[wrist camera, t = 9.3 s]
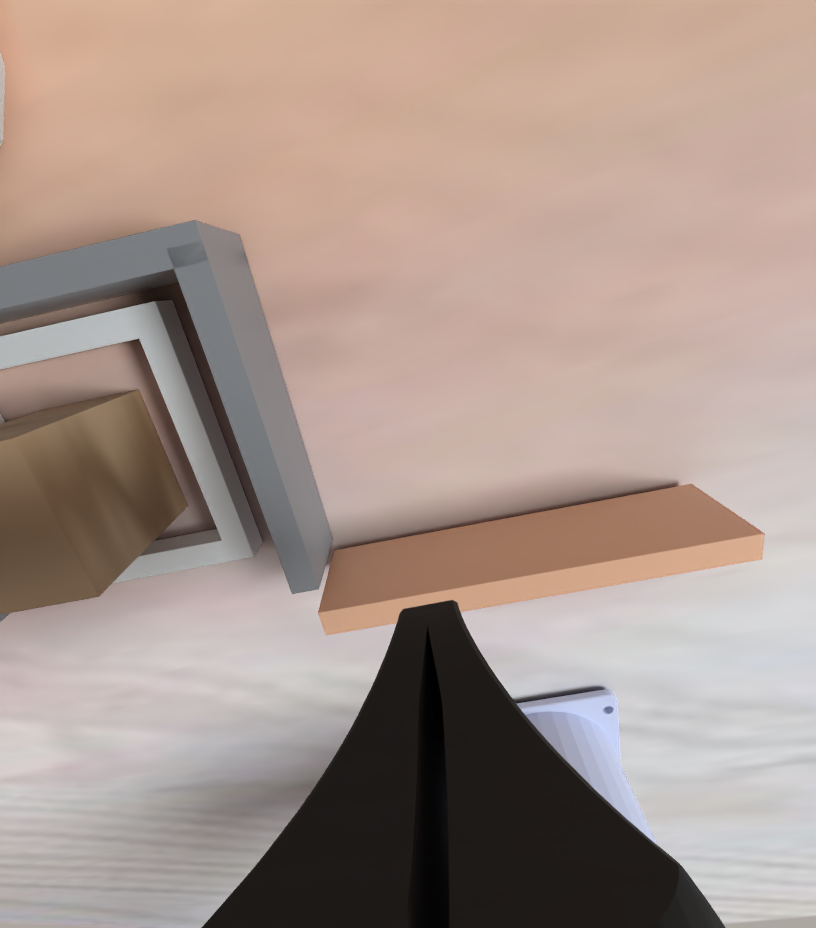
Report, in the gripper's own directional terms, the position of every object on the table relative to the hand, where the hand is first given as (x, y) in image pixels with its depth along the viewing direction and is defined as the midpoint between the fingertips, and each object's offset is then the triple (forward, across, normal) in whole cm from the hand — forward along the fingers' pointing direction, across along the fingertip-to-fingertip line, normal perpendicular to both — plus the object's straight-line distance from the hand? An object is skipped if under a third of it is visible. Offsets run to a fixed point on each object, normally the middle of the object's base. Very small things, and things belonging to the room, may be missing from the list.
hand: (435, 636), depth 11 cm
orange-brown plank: (+8, -3, +2) cm, 9 cm away
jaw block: (+8, +12, -4) cm, 15 cm away
